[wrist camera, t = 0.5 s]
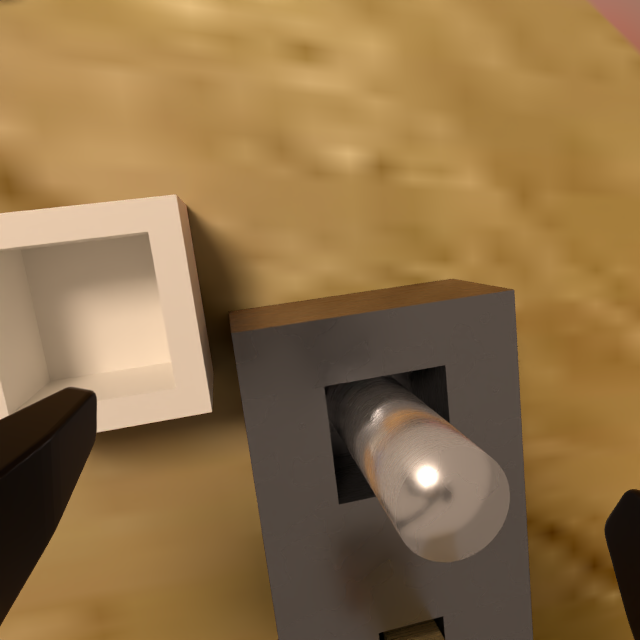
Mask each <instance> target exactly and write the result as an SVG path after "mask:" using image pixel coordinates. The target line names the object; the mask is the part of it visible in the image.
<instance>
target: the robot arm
mask: <svg viewBox="0 0 640 640" xmlns="http://www.w3.org/2000/svg"><path fill="white" fill-rule="evenodd" d="M96 433H97V397H96V393H95V392H94V391H92V390H88V389H82V388H77V387H67V388H64V389H62V390H60V391H58V392H56V393H54V394H52V395H50V396H48V397H46V398H44V399H41V400H39V401H37V402H35V403H33V404H31V405H29V406H27V407H25V408H23V409H21V410H19V411H17V412H15V413H13V414H11V415H9V416H6V417H4V418H2V419H0V626H1V624H2V622H3V620H4V619H5V617H6V615H7V614H8V612H9V610H10V608H11V607H12V605H13V603H14V602H15V600H16V598H17V596H18V595H19V593H20V591H21V590H22V588H23V586H24V584H25V583H26V581H27V579H28V578H29V576H30V574H31V572H32V571H33V569H34V567H35V566H36V564H37V562H38V560H39V559H40V557H41V555H42V554H43V552H44V550H45V548H46V547H47V545H48V543H49V541H50V539H51V538H52V536H53V534H54V532H55V530H56V528H57V526H58V524H59V522H60V519H61V517H62V515H63V513H64V510H65V508H66V506H67V504H68V501H69V499H70V497H71V495H72V492H73V490H74V488H75V486H76V483H77V481H78V479H79V477H80V474H81V472H82V470H83V468H84V465H85V463H86V461H87V458H88V456H89V454H90V452H91V449H92V447H93V445H94V442H95V438H96ZM605 538H606V541H607V545H608V549H609V552H610V556H611V560H612V563H613V567H614V571H615V574H616V578H617V582H618V586H619V589H620V593H621V597H622V600H623V604H624V608H625V611H626V615H627V618H628V621H629V625H630V628H631V631H632V634H633V636H634V639H635V640H640V490H636V489H632V490H629V491H627V492H625V493H624V495H623V496H622V498H621V499H620V501H619V502H618V504H617V505H616V507H615V508H614V510H613V511H612V513H611V514H610V516H609V517H608V519H607V521H606V524H605Z"/></svg>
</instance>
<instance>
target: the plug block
mask: <svg viewBox="0 0 640 640" xmlns="http://www.w3.org/2000/svg"><path fill="white" fill-rule="evenodd" d="M383 633H384V640H445V639H444V637H443V635H442V634H441V632H440V630H439V628H438V627H437V625H436V623H435V621H434V619H431V620H427V621H423V622H419V623H415V624H411V625H408V626H404V627H400V628H396V629H392V630H388V631H385V632H383Z"/></svg>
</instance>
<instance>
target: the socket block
mask: <svg viewBox="0 0 640 640" xmlns="http://www.w3.org/2000/svg"><path fill="white" fill-rule="evenodd" d="M229 319H230V327H231V335H232V341H233V348H234V354H235V360H236V367H237V373H238V380H239V386H240V393H241V399H242V406H243V412H244V419H245V425H246V431H247V438H248V444H249V451H250V457H251V464H252V470H253V477H254V483H255V490H256V496H257V502H258V509H259V515H260V522H261V528H262V535H263V541H264V548H265V554H266V561H267V567H268V573H269V580H270V586H271V593H272V599H273V606H274V612H275V619H276V625H277V632H278V638H279V640H384V633H383V632H385V631H388V630H392V629H396V628H400V627H404V626H408V625H411V624H415V623H419V622H423V621H427V620H431V619H434V621H435V623H436V625H437V627H438V628H439V630H440V632H441V634H442V635H443V637H444V639H445V640H533V629H532V611H531V592H530V574H529V555H528V537H527V518H526V499H525V481H524V462H523V444H522V425H521V407H520V388H519V370H518V351H517V333H516V314H515V296H514V290H513V289H507V288H502V287H496V286H490V285H485V284H479V283H474V282H468V281H462V280H457V279H448V280H441V281H434V282H428V283H421V284H414V285H407V286H400V287H394V288H387V289H380V290H373V291H366V292H359V293H353V294H346V295H339V296H332V297H325V298H319V299H312V300H305V301H298V302H291V303H285V304H278V305H271V306H264V307H257V308H251V309H244V310H237V311H230V312H229ZM386 375H390V376H392V377H393V378H394V379H395V380H396V381H398V382H399V383H400V384H401V385H403V386H404V387H405V388H406V389H408V390H409V391H410V392H411V393H413V394H414V395H415V396H416V397H417V398H419V399H420V400H421V401H422V402H424V403H425V404H426V405H427V406H429V407H430V408H431V409H432V410H434V411H435V412H436V413H437V414H438V415H440V416H441V417H442V418H443V419H445V420H446V421H447V422H448V423H450V424H451V425H452V426H453V427H455V428H456V429H457V430H458V431H459V432H461V433H462V434H463V435H464V436H466V437H467V438H468V439H469V440H471V441H472V442H473V443H474V444H476V445H477V446H478V447H479V448H480V449H482V450H483V451H484V452H485V453H487V454H488V455H489V456H490V457H492V458H493V459H494V460H495V461H496V462H497V463H498V464H499V465H500V467H501V468H502V470H503V471H504V473H505V475H506V478H507V481H508V484H509V490H510V503H509V509H508V513H507V516H506V519H505V521H504V524H503V525H502V527H501V529H500V531H499V532H498V534H497V535H496V536H495V537H494V539H493V540H492V541H491V542H490V543H489V544H488V545H487V546H486V547H484V548H483V549H482V550H480V551H479V552H477V553H476V554H474V555H472V556H470V557H467V558H465V559H462V560H459V561H453V562H435V561H431V560H427V559H425V558H422V557H421V556H419V555H417V554H415V553H414V552H413V551H412V550H410V548H409V547H408V546H407V545H406V544H405V543H404V541H403V540H402V538H401V537H400V535H399V533H398V532H397V530H396V528H395V527H394V525H393V523H392V522H391V520H390V518H389V517H388V515H387V513H386V512H385V510H384V508H383V507H382V505H381V504H380V502H379V500H378V499H377V497H376V495H375V494H374V492H373V490H372V489H371V487H370V485H369V484H368V482H367V480H366V479H365V477H364V475H363V474H362V472H361V470H360V469H359V467H358V466H357V464H356V462H355V461H354V459H353V457H352V456H351V454H350V452H349V451H348V449H347V447H346V446H345V444H344V442H343V441H342V439H341V437H340V436H339V434H338V432H337V431H336V429H335V428H334V426H333V424H332V423H331V421H330V419H329V417H328V413H327V405H326V394H327V391H328V388H329V386H330V385H335V384H340V383H346V382H352V381H358V380H363V379H369V378H375V377H380V376H386Z"/></svg>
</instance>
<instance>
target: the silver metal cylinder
mask: <svg viewBox="0 0 640 640" xmlns="http://www.w3.org/2000/svg"><path fill="white" fill-rule="evenodd" d="M326 405H327V413H328V417H329V419H330V421H331V423H332V424H333V426H334V428H335V429H336V431H337V432H338V434H339V436H340V437H341V439H342V441H343V442H344V444H345V446H346V447H347V449H348V451H349V452H350V454H351V456H352V457H353V459H354V461H355V462H356V464H357V466H358V467H359V469H360V470H361V472H362V474H363V475H364V477H365V479H366V480H367V482H368V484H369V485H370V487H371V489H372V490H373V492H374V494H375V495H376V497H377V499H378V500H379V502H380V504H381V505H382V507H383V508H384V510H385V512H386V513H387V515H388V517H389V518H390V520H391V522H392V523H393V525H394V527H395V528H396V530H397V532H398V533H399V535H400V537H401V538H402V540H403V541H404V543H405V544H406V545H407V546H408V547H409V548H410V550H412V551H413V552H414V553H415V554H417V555H419V556H421V557H422V558H425V559H427V560H431V561H435V562H453V561H459V560H462V559H465V558H467V557H470V556H472V555H474V554H476V553H477V552H479V551H480V550H482V549H483V548H484V547H486V546H487V545H488V544H489V543H490V542H491V541H492V540H493V539H494V537H495V536H496V535H497V534H498V532H499V531H500V529H501V527H502V525H503V524H504V521H505V519H506V516H507V513H508V509H509V503H510V490H509V484H508V481H507V478H506V475H505V473H504V471H503V470H502V468H501V467H500V465H499V464H498V463H497V462H496V461H495V460H494V459H493V458H492V457H490V456H489V455H488V454H487V453H485V452H484V451H483V450H482V449H480V448H479V447H478V446H477V445H476V444H474V443H473V442H472V441H471V440H469V439H468V438H467V437H466V436H464V435H463V434H462V433H461V432H459V431H458V430H457V429H456V428H455V427H453V426H452V425H451V424H450V423H448V422H447V421H446V420H445V419H443V418H442V417H441V416H440V415H438V414H437V413H436V412H435V411H434V410H432V409H431V408H430V407H429V406H427V405H426V404H425V403H424V402H422V401H421V400H420V399H419V398H417V397H416V396H415V395H414V394H413V393H411V392H410V391H409V390H408V389H406V388H405V387H404V386H403V385H401V384H400V383H399V382H398V381H396V380H395V379H394V378H393V377H392V376H390V375H386V376H380V377H375V378H369V379H363V380H358V381H352V382H346V383H340V384H335V385H330V386H329V388H328V391H327V394H326Z"/></svg>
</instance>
